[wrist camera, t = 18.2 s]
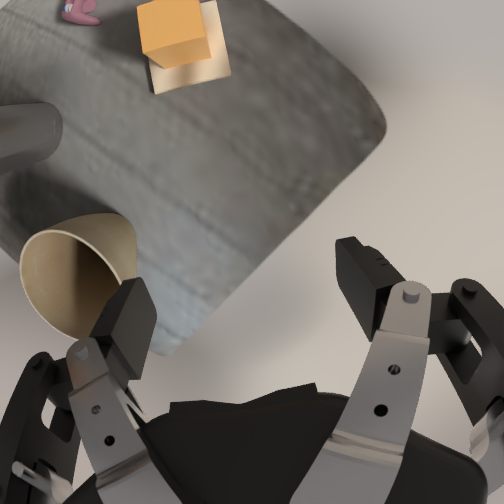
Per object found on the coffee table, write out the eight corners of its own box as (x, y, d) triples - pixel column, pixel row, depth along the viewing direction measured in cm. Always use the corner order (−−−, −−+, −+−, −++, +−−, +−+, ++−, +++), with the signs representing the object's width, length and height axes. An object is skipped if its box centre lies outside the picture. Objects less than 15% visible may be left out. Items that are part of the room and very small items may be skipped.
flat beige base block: (156, 94, 31) (143, 90, 25) (143, 21, 25) (130, 8, 20) (231, 76, 30) (231, 68, 25) (216, 2, 25) (213, -15, 20)
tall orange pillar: (165, 69, 28) (142, 53, 19) (159, 31, 26) (136, 6, 17) (211, 58, 28) (204, 36, 19) (204, 20, 26) (196, -11, 17)
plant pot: (176, 258, 42) (153, 329, 28) (104, 286, 43) (67, 351, 29) (132, 170, 35) (78, 206, 21) (61, 211, 37) (2, 258, 22)
